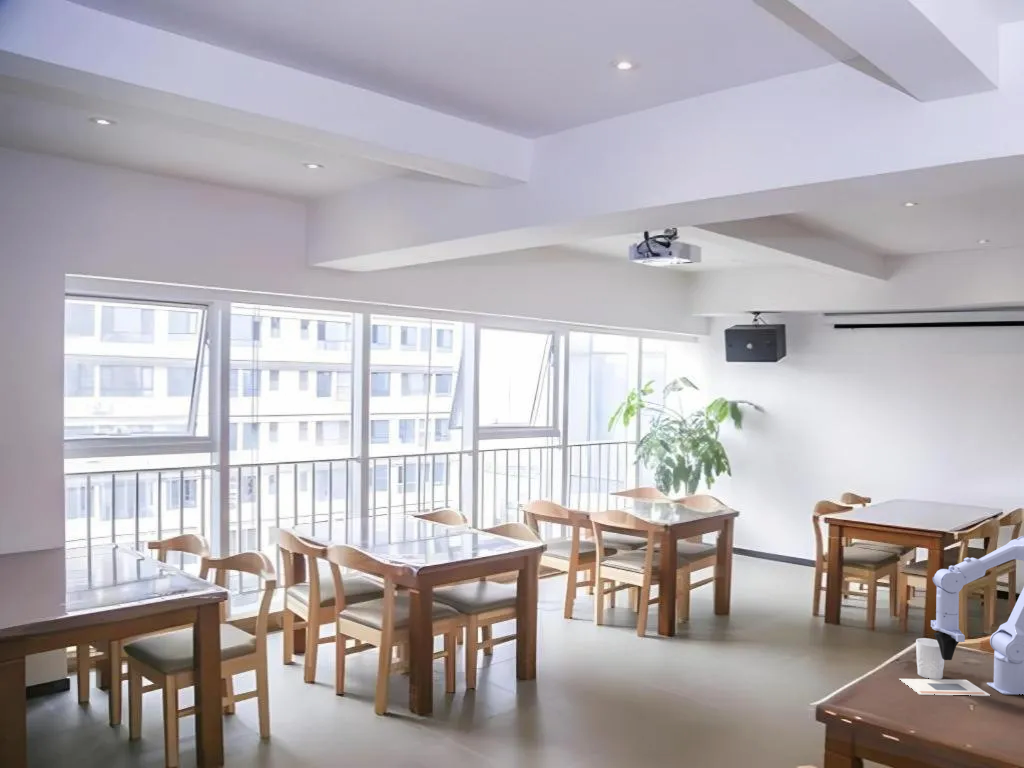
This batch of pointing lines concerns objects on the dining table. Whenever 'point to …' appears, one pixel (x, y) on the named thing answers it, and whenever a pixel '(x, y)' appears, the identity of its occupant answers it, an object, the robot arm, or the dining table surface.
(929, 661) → the white cup
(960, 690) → the menu card
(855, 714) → the dining table surface
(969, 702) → the dining table surface
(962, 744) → the dining table surface
